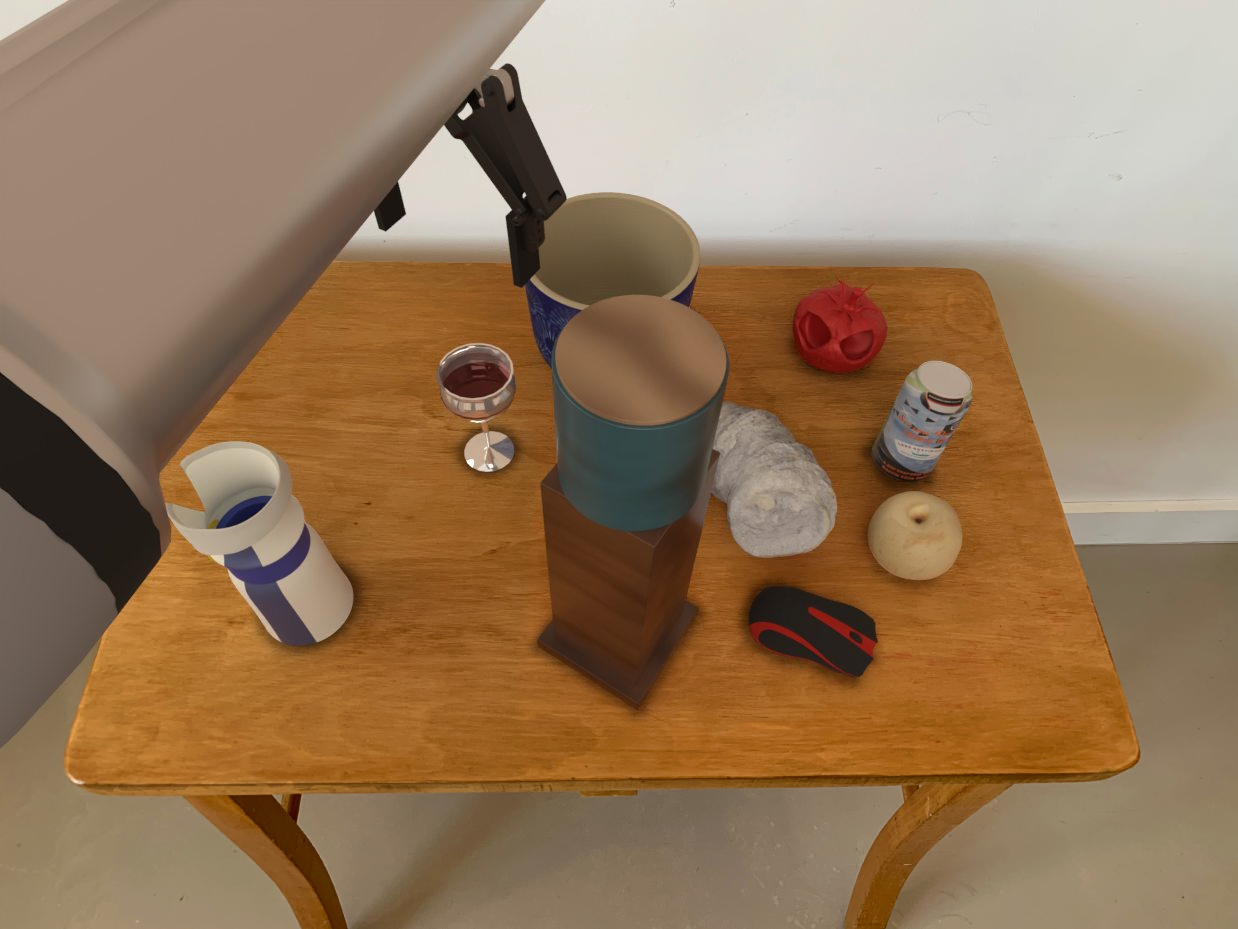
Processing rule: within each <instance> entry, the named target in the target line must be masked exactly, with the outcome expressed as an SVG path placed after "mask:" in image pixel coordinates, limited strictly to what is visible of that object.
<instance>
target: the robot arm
mask: <svg viewBox="0 0 1238 929" xmlns="http://www.w3.org/2000/svg"><path fill="white" fill-rule="evenodd" d="M545 2H546V0H66V1H65V2H63V3H61V4H60V5H58V6H55V7H54V8H53V9H51V10H49V11H48V12H46V13H45V14H43V15H41V16H39V17H37V18H36V19H35V20H32V21H31V22H29V23H28V24H26V25H24V26H22V27H21V28H19V29H17V30H16V31H14V32H13V33H11V34H8V35H7V36H5V37H3V38H2V39H1V40H0V750H1V749H2V748H3V747H4V746H5V745H7V743H8V742H10V740H12V739H13V738H14V737H15V736H16V735H18V733H19V731H21V730H22V728H23V727H24V726H25V725H26V724H27V723H28V722H29V721H30V720H31V719H32V718H33V716H34V715H35V714H36V713H37V712H38V711H39V710H40V709H41V708H42V707H43V706H44V704H45V703H46V702H47V701H48V700H49V699H50V698H51V697H52V695H53V694H54V693H55V692H56V691H57V690H58V689H59V688H60V687H61V686H62V684H63V683H64V682H65V681H66V680H67V679H68V678H69V677H70V675H72V674H73V672H74V671H75V670H77V668H78V667H79V666H80V665H81V663H83V661H84V660H85V658H86V657H87V656H88V655H89V653H90V652H91V651H92V649H93V648H94V647H95V645H96V644H97V643H98V641H99V640H100V639H101V638H102V636H103V635H104V634H105V633H106V632H107V630H108V629H109V628H110V627H111V625H112V623H113V622H114V621H115V620H116V619H117V617H118V616H119V615H120V613H121V612H122V611H123V609H124V608H125V606H126V605H127V604H128V603H129V601H130V600H131V599H132V597H133V596H134V595H135V593H136V592H137V591H138V589H139V588H140V587H141V585H142V584H143V583H144V581H145V580H146V579H147V577H148V576H149V575H150V574H151V572H152V571H153V569H154V568H155V567H156V565H157V564H158V563H159V562H160V560H161V559H162V557H163V556H164V554H165V553H166V551H167V549H168V548H169V546H170V545H171V542H172V525H171V520H170V517H169V516H168V513H167V509H166V505H165V503H166V502H165V501H166V500H165V496H164V493H163V489H162V486H161V482H160V476H161V472H162V471H163V470H164V469H165V468H166V466H167V465H168V464H169V463H170V461H171V460H173V458H174V457H175V455H177V453H178V452H179V450H181V448H182V447H183V445H185V443H186V442H187V441H188V440H189V438H190V437H191V436H192V435H193V434H194V432H195V431H196V429H197V428H198V427H199V426H200V424H201V423H202V422H203V421H204V420H205V419H206V417H207V416H208V415H209V414H210V413H211V411H212V410H213V409H214V408H215V406H217V404H218V403H219V401H220V400H222V398H223V397H224V395H225V394H226V393H227V392H228V390H229V389H230V388H231V387H232V385H233V384H234V383H235V382H236V380H238V378H239V377H240V376H241V374H242V373H243V372H244V371H245V369H247V367H248V366H249V365H250V364H251V362H252V361H253V360H254V358H255V357H256V356H257V355H258V353H259V352H260V351H261V350H262V349H263V347H264V346H265V345H266V344H267V342H268V341H269V340H270V339H271V338H272V336H274V334H275V333H276V332H277V331H278V329H279V328H280V327H281V325H283V323H284V322H285V320H286V319H287V318H288V317H289V316H290V315H291V313H292V312H293V311H294V309H296V307H297V306H298V305H299V303H300V302H301V301H302V300H303V298H304V297H305V296H306V295H307V293H309V291H310V290H311V289H312V287H313V286H314V285H315V283H317V281H318V280H319V279H320V278H321V277H322V275H323V274H324V273H325V271H326V270H327V269H328V268H329V267H330V265H331V264H332V262H334V260H335V259H336V258H337V257H338V256H339V254H340V253H341V252H342V251H343V249H344V248H345V247H346V246H347V245H348V243H349V242H350V241H351V240H352V238H353V237H354V236H355V235H356V234H357V232H359V230H360V229H361V227H362V226H363V225H364V224H365V223H366V221H367V220H368V219H369V217H370V216H371V215H372V213H374V218H375V221H376V224H377V227H378V229H379V230H380V231H382V232H387V231H388V230H390V229H391V228H392V227H393V226H395V225H396V224H397V223H398V222H399V221H400V220H402V219H403V218H404V217H405V216H406V215H407V212H406V207H405V204H404V199H403V195H402V192H401V187H400V183H399V181H400V179H401V178H402V177H403V176H404V175H405V173H407V171H408V170H409V168H411V166H412V165H413V164H414V162H415V161H416V160H417V159H418V157H419V156H420V155H421V154H422V153H423V152H424V150H425V149H426V148H427V146H429V144H430V143H431V141H432V140H433V139H434V138H435V137H436V135H437V134H438V133H439V131H441V129H442V128H443V127H445V129H446V130H447V132H448V133H449V134H450V136H451V137H452V138H453V139H455V140H460V141H461V142H462V143H463V144H464V145H465V147H466V148H467V150H468V151H469V153H470V154H471V155H472V156H473V158H474V159H475V161H476V162H477V163H478V165H479V167H480V168H481V169H482V170H483V172H484V174H485V175H486V176H487V177H488V179H489V181H490V182H491V183H492V185H493V186H494V187H495V189H496V190H497V191H498V193H499V194H500V196H501V198H503V200H504V201H505V203H507V205H508V207H509V208H510V209H511V210H510V211H508V213H507V214H506V215H505V217H504V218H505V225H506V233H507V241H508V248H509V250H508V251H509V256H510V258H509V259H510V265H511V273H512V282H513V285H514V286H516V287H518V288H521V289H523V288H524V287H525V284H526V283H527V282H528V281H529V280H530V279H531V278H532V277H533V276H534V275H535V274H536V272H537V271H538V270H539V269H540V258H539V247H540V246H541V245H542V244H543V243H544V240H545V229H544V221H546V220H548V219H549V218H550V217H551V216H552V215H553V214H554V213H555V212H556V211H557V210H558V209H559V208H560V207H561V206H562V205H563V203H564V202H565V201H566V200H567V199H568V197H567V194H566V192H565V189H564V187H563V184H562V183H561V180H560V178H559V176H558V174H557V172H556V169H555V167H554V165H553V162H552V160H551V159H550V157H549V155H548V152H547V150H546V147H545V146H544V143H543V141H542V139H541V137H540V135H539V133H538V130H537V128H536V126H535V124H534V122H533V119H532V117H531V115H530V113H529V111H528V109H527V106H526V105H525V102H524V99H523V94H522V90H521V89H522V88H521V83H520V77H519V73H518V70H517V68H516V67H515V66H514V65H513V64H511V63H509V62H508V63H504V64H503V65H502V66H500V67H499V68H498V69H493V68H492V67H493V66H494V64H495V63H496V62H497V61H498V59H499V58H500V57H501V56H502V55H503V53H504V52H505V51H506V50H507V48H508V47H509V46H510V45H511V44H512V43H513V41H514V39H516V37H517V36H518V35H519V34H520V33H521V31H522V30H523V29H524V27H525V26H526V25H527V24H528V22H530V20H531V19H532V17H533V16H534V15H535V14H536V13H537V11H539V9H540V8H541V7H542V5H543V4H544V3H545ZM467 104H468V105H469V107H470V108H471V113H470V114H469V115H468V116H466V117H465V118H464V119H463V118H461V117H460V116H459V114H460V113H462V111H464V109H465V107H466V106H467ZM524 195H525V196H524Z"/></svg>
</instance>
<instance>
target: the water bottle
mask: <svg viewBox="0 0 1238 929" xmlns="http://www.w3.org/2000/svg"><path fill="white" fill-rule="evenodd" d="M179 467H181V468H182V470H183V471H184V473H185V475H186V477H187V478H188V480H189V481H190V483H191V485H192V487H193V488H194V490H195V493H196V495H197V496H198V498H199V499H200V502H201V504H202V506H203V508H204V511H202V510H197V509H193V508H188V507H185V506H181V505H178V504H175V503H172V502H165V505H166V509H167V513H168V517H169V520H170V522H171V523H172V524H173V525H174V527H175V528H176V530H177V531H178V532H179V533H180V535H182V537H183V538H185V540H186V541H187V542H188V543H190V545H191V546H192V547H193V548H194V549H195V550H196V551H197V552H198V553H200V554H202V555H206V556H207V558H208V560H209V561H211V563H214V564H218V565H221V566H222V567H224V568H226V569H227V572H228V575H229V578H230V581H231V582H232V583H233V585H234V587H235V588H236V590H237V591H238V592H239V594H240V595H241V597H242V598H244V600H245V601H246V602H247V604H248V605H249V607H251V609H252V610H253V612H254V613H255V614H256V616H257V617H258V619H259V621H260V622H261V623H262V625H263V627H264V628H265V630H266V631H267V633H268V634H270V636H272V638H273V639H275V640H277V641H278V642H280V643H282V644H285V645H289V646H297V647H302V646H309V645H310V646H311V645H313V644H317V643H320V642H322V641H324V640H326V639H327V638H329V637H331V636H332V635H334V634H335V633H336V632H337V631H338V630H339V629H340V628H341V627H342V626H343V625H344V624H345V622H346V620H348V618H349V616H350V614H351V612H352V607H353V605H354V589H353V586H352V584H351V581H350V580H349V578H348V576H347V575H346V574H345V573H344V571H343V570H342V569H341V567H340V566H339V564H338V563H337V561H336V560H335V559H334V557H333V555H332V554H331V552H330V550H329V549H328V547H327V546H326V544H325V542H324V540H323V539H322V537H321V536H320V534H319V533H318V532H317V530H316V529H315V528H314V527H313V526H312V525H310V524H309V523H308V522H306V520H305V511H304V508H303V506H302V504H301V502H300V501H299V500H298V498H296V496H295V495H294V494H292V492H293V479H292V478H293V477H292V473H291V470H290V467H289V465H288V464H287V463H286V461H285V460H284V459H283V458H282V456H280V455H279V454H278V453H276V452H275V451H273V450H270V449H268V448H266V447H264V446H263V445H260V444H258V443H254V442H250V441H239V440H235V441H234V440H233V441H222V442H217V443H214V444H210V445H207V446H205V447H202V448H201V449H198V450H195V451H194V452H192V453H191V454H188V455H187V456H185V457H184V458H183V459H182V460H181V462H180V463H179Z"/></svg>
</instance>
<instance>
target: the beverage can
mask: <svg viewBox="0 0 1238 929" xmlns="http://www.w3.org/2000/svg"><path fill="white" fill-rule="evenodd" d="M972 390H973V382H972V379H971V378H970V376H969V375H968V374H967V373H966V372H965V371H964V370H962V369H961V368H960V367H958V366H957V365H955V364H952V363H949V362H947V361H941V360H928V361H926V362H923V363H921V364H920V365H919V367H917V368H915V369H913V370H912V371H910V372H909V373H908V375H907V376H906V378H905V380H904V382H903V384H902V386H901V388H900V390H899V392H898V394H897V395H896V398H895V400H894V403H893V404H892V406H891V408H890V409H889V410H890V411H889V413H888V414H887V417H886V418H885V420H884V422H883V425H882V427H881V428H880V430H879V433H878V435H877V437H876V439H875V441H874V443H873V445H872V447H871V458H872V461H873V462H874V464H875V465H876V467H877V468H878V469H879V470H880V471H881V472H882V473H884V474H885V475H887V476H888V477H890V478H892V479H894V480H897V481H900V482H901V481H902V482H906V483H917V482H921V481H923V480H926V479H927V478H928V477H929V476H930V475H931V473H932V472H933V470H934V468H935V467H936V465H937V463H938V461H939V459H940V458H941V456H942V454H943V453H944V451H945V450H946V448H947V446H948V445H949V442H950V441H951V440H952V438H953V436H954V434H955V432H956V431H957V429H958V427H959V425H960V424H961V422H962V420H963V419H964V417H965V415H966V414H967V412H968V410H969V409H970V408H971V405H972V402H973V392H972Z"/></svg>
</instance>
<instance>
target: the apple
mask: <svg viewBox="0 0 1238 929" xmlns="http://www.w3.org/2000/svg"><path fill="white" fill-rule="evenodd" d="M866 536H867V543H868V547H869V549H870V552H871V555H872V556H873V558H874V559H875V561H876V562H877V563H878V564H879V565H880V567H882V568H883V569H885V571H887V572H888V573H890V574H891V575H893V576H895V577H899V578H902V579H905V580H912V581H913V580H914V581H925V580H926V581H927V580H931V579H934V578H937V577H939V576H941V575H943V574H945V573H946V572H947V571H948V570H949V569H950V568H952V566H953V565H954V563H955V562H956V560H957V558H958V556H959V554H960V551H961V549H962V545H963V528H962V524H961V521H960V518H959V517H958V514H957V513H956V511H955V509H954V507H952V506H951V505H950V504H949V502H947V501H946V500H944V499H942V498H941V497H938V496H936V495H934V494H931V493H927V492H924V491H919V490H918V491H917V490H911V491H910V490H909V491H904V492H900V493H897V494H893V495H892V496H890V497H888V498H886V500H884V501H883V502H882V503H881V504H880V505H879V506H878V507H877V508H876V510H875V512H874V513H873V515H872V517H871V518H870V520H869V522H868V527H867V535H866Z"/></svg>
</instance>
